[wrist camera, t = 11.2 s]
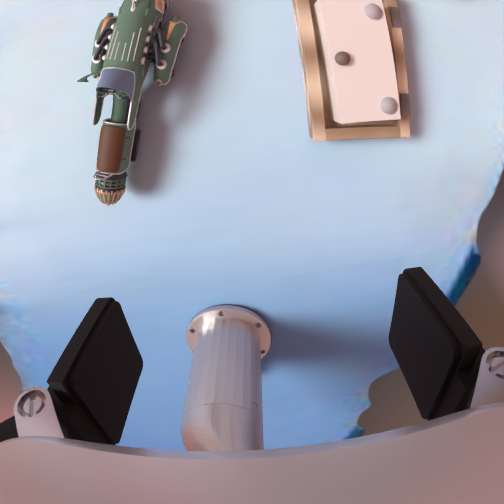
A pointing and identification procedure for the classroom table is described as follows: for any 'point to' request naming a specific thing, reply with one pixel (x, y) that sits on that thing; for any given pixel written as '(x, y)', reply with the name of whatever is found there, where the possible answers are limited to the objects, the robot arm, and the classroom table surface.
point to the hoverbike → (128, 82)
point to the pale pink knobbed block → (357, 60)
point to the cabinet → (317, 90)
